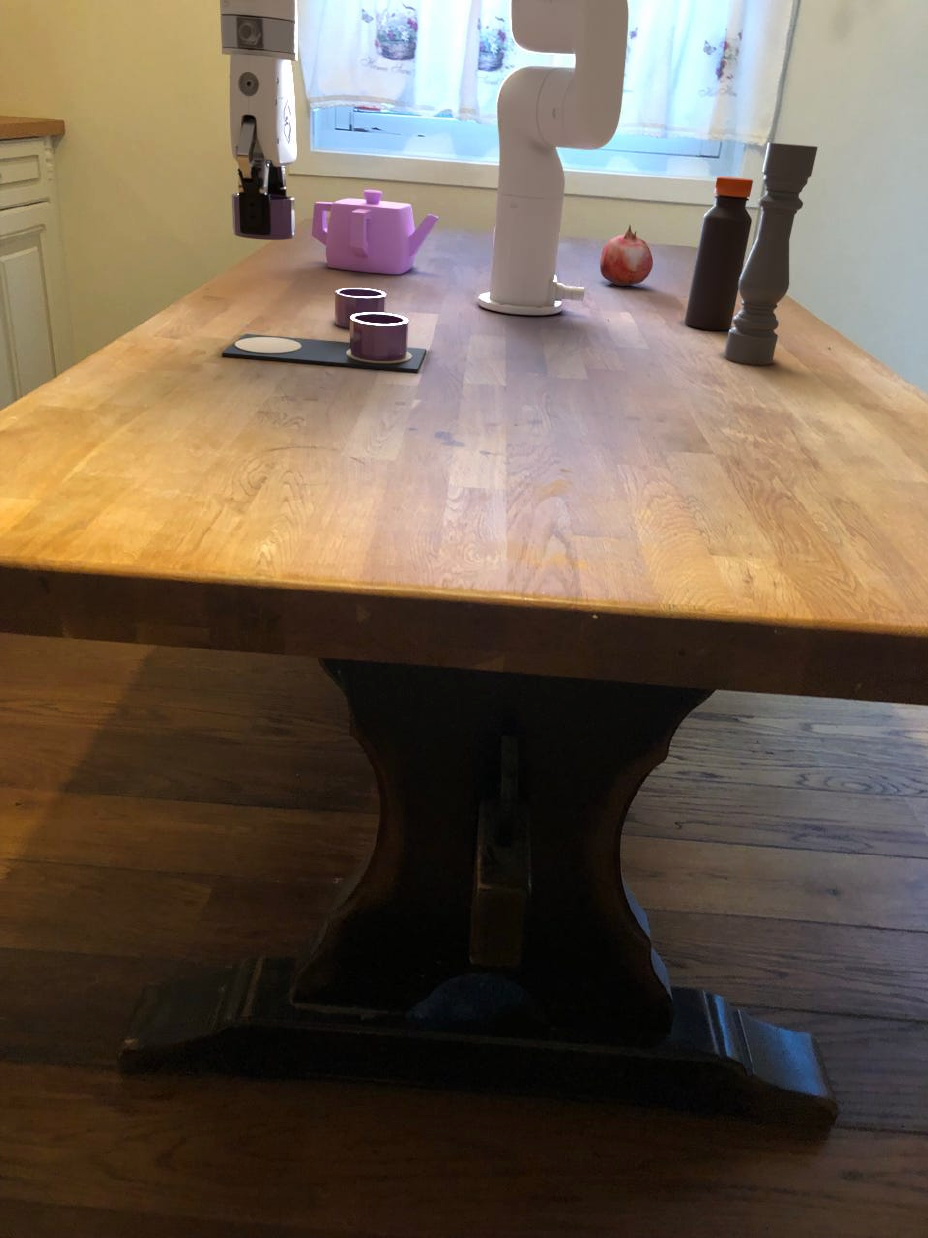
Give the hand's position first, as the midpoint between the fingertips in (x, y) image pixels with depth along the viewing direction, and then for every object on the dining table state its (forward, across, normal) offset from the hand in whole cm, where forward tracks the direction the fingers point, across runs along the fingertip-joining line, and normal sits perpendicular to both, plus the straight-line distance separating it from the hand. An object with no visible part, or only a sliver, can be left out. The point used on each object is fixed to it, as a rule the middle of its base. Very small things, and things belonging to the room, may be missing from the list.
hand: (264, 228), depth 104 cm
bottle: (+13, +36, -57) cm, 69 cm away
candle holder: (+13, +16, -59) cm, 63 cm away
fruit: (+13, +68, -47) cm, 84 cm away
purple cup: (+1, 0, 0) cm, 1 cm away
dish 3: (+12, 0, -13) cm, 18 cm away
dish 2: (+13, +18, -8) cm, 23 cm away
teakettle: (+13, +65, -3) cm, 66 cm away
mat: (+13, 0, -7) cm, 15 cm away
